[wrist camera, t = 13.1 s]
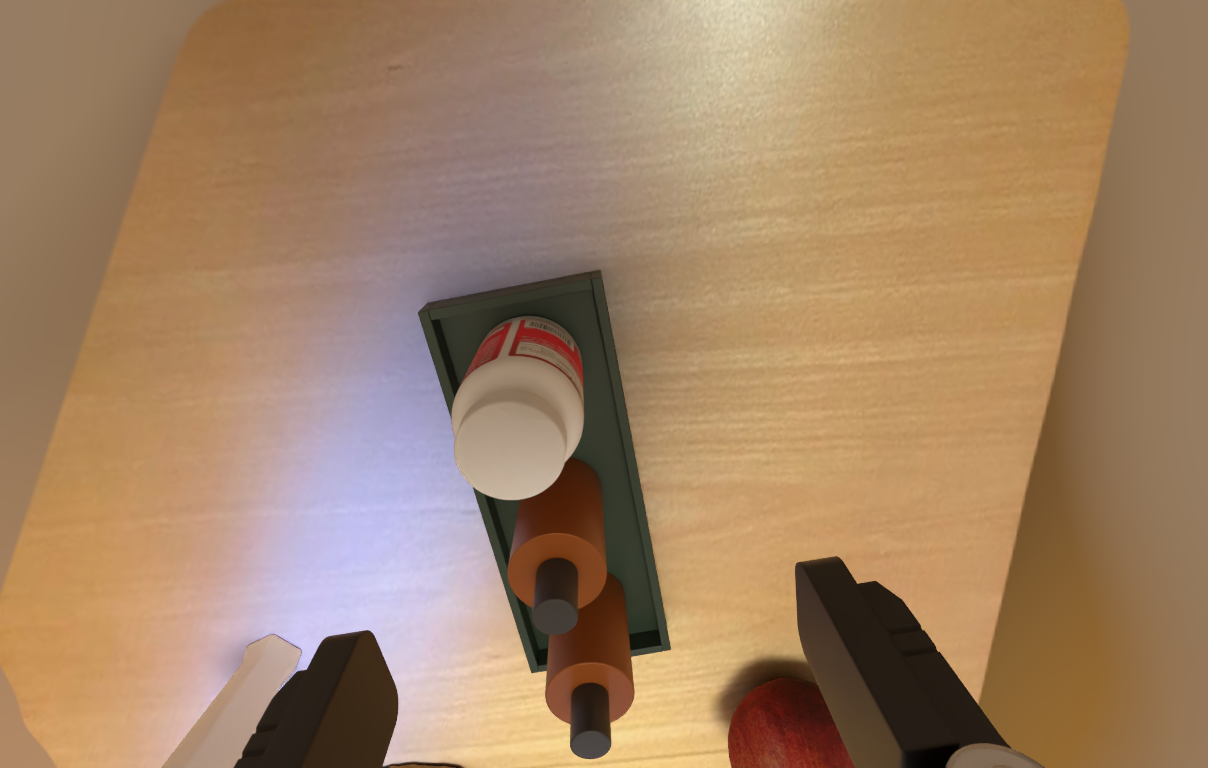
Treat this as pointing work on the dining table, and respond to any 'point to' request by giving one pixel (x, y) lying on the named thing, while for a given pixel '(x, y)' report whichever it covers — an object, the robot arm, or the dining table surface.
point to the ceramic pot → (421, 767)
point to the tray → (601, 446)
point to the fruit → (785, 729)
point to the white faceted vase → (237, 707)
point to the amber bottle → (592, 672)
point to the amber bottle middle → (560, 548)
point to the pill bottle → (519, 409)
